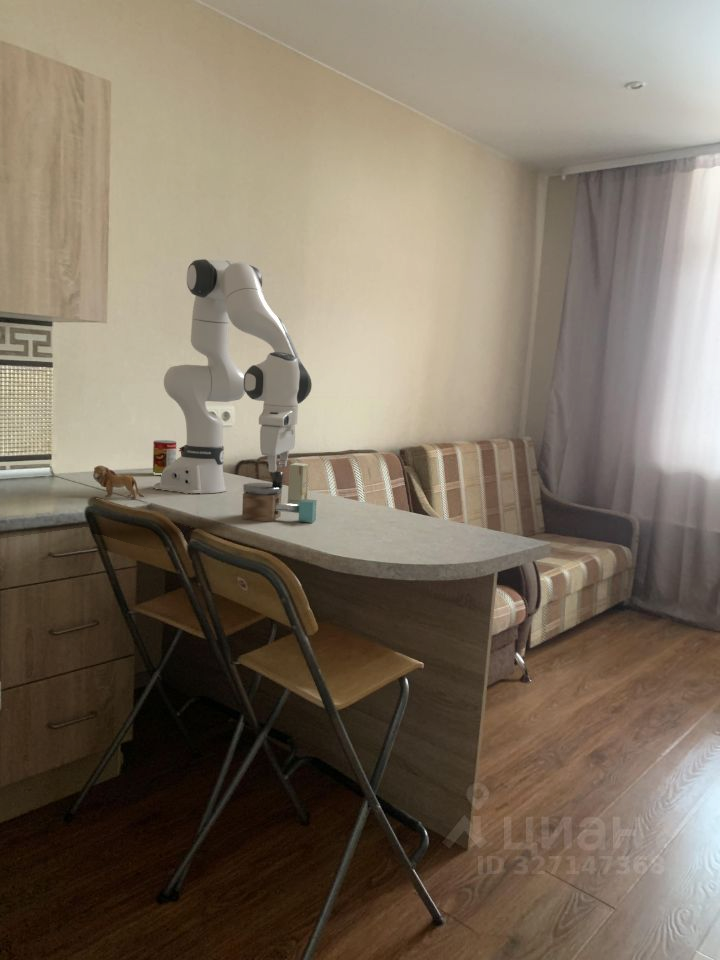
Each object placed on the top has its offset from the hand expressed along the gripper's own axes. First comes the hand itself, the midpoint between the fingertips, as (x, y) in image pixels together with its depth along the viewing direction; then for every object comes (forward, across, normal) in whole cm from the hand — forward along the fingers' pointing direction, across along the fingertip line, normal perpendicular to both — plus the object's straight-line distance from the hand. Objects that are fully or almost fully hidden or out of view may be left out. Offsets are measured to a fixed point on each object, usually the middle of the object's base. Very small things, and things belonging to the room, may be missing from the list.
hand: (277, 469), depth 189 cm
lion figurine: (+14, -10, -50) cm, 53 cm away
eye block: (+13, +1, -4) cm, 13 cm away
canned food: (+15, -60, -58) cm, 85 cm away
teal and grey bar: (+13, +1, +1) cm, 13 cm away
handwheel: (+6, 0, -3) cm, 7 cm away
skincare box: (+14, -21, 0) cm, 25 cm away
